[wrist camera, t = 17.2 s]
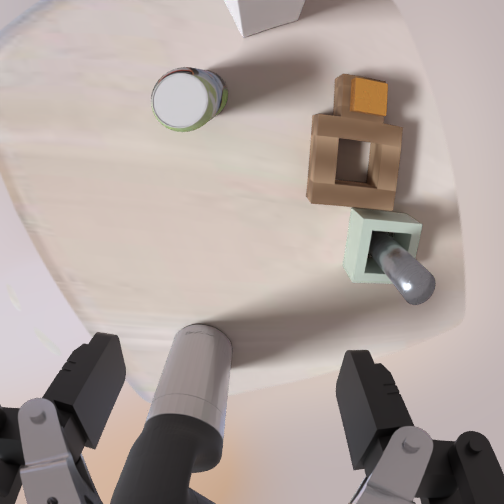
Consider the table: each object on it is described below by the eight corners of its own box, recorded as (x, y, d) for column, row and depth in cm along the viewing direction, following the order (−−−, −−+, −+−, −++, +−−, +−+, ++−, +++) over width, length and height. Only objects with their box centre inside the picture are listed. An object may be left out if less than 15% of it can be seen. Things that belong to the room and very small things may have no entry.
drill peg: (383, 252, 41) (429, 304, 28) (360, 251, 41) (399, 304, 28) (388, 227, 40) (439, 272, 27) (364, 225, 40) (409, 271, 27)
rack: (394, 268, 42) (408, 284, 37) (342, 265, 42) (352, 282, 37) (405, 213, 39) (422, 224, 34) (351, 207, 39) (363, 218, 34)
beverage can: (226, 69, 33) (212, 43, 22) (232, 127, 36) (221, 125, 24) (174, 77, 33) (140, 58, 22) (181, 134, 36) (148, 137, 25)
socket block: (380, 203, 38) (392, 211, 35) (306, 196, 38) (311, 203, 35) (391, 89, 33) (405, 86, 29) (314, 76, 33) (321, 70, 29)
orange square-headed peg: (368, 117, 34) (386, 115, 29) (340, 112, 34) (354, 110, 29) (370, 89, 32) (387, 83, 27) (342, 84, 32) (355, 77, 27)
